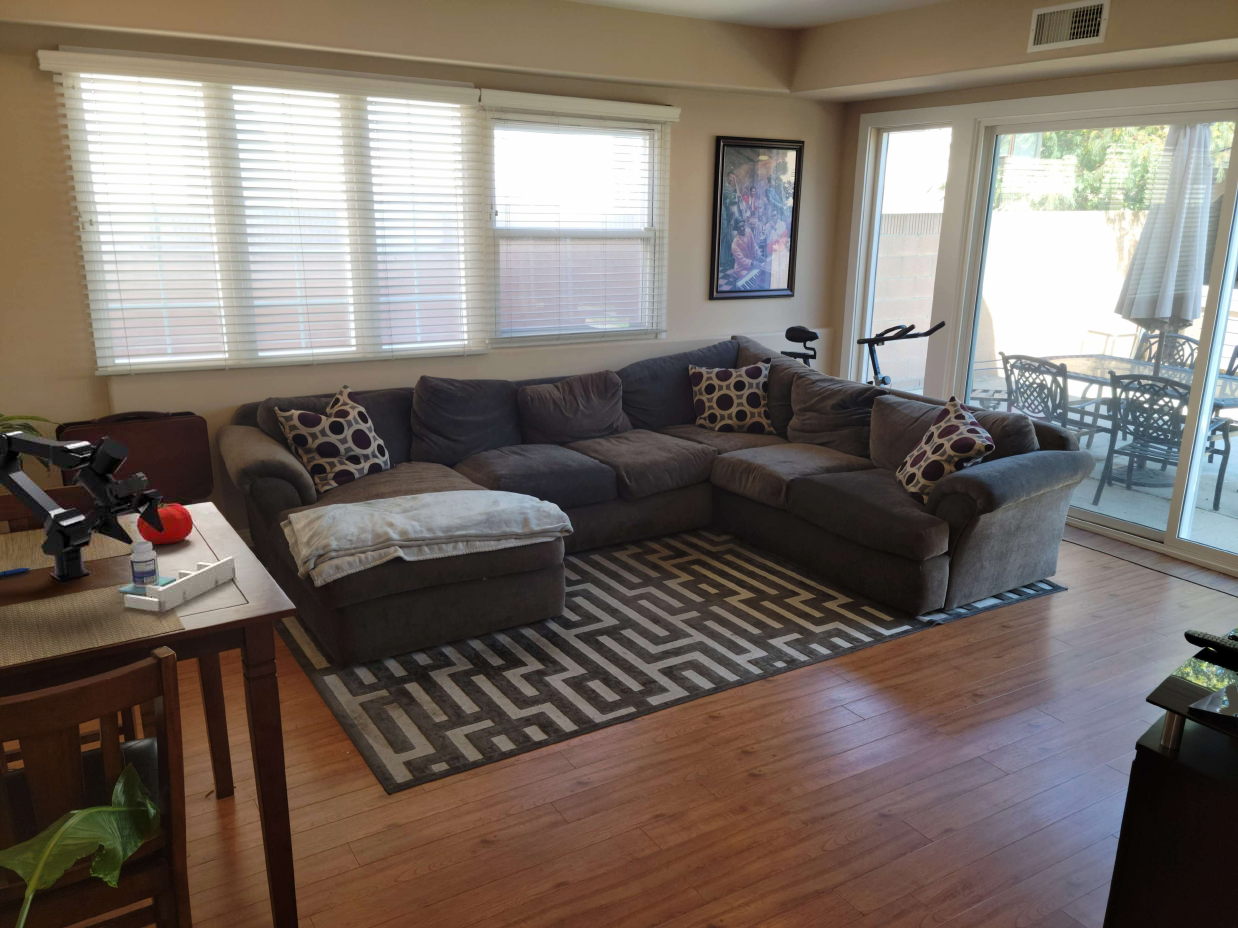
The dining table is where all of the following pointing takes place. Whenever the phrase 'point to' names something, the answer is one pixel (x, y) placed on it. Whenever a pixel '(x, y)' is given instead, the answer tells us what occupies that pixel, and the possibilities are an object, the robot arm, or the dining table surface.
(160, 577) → the teal mat
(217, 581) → the lane rack
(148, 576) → the pill bottle
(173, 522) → the tomato
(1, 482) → the robot arm
